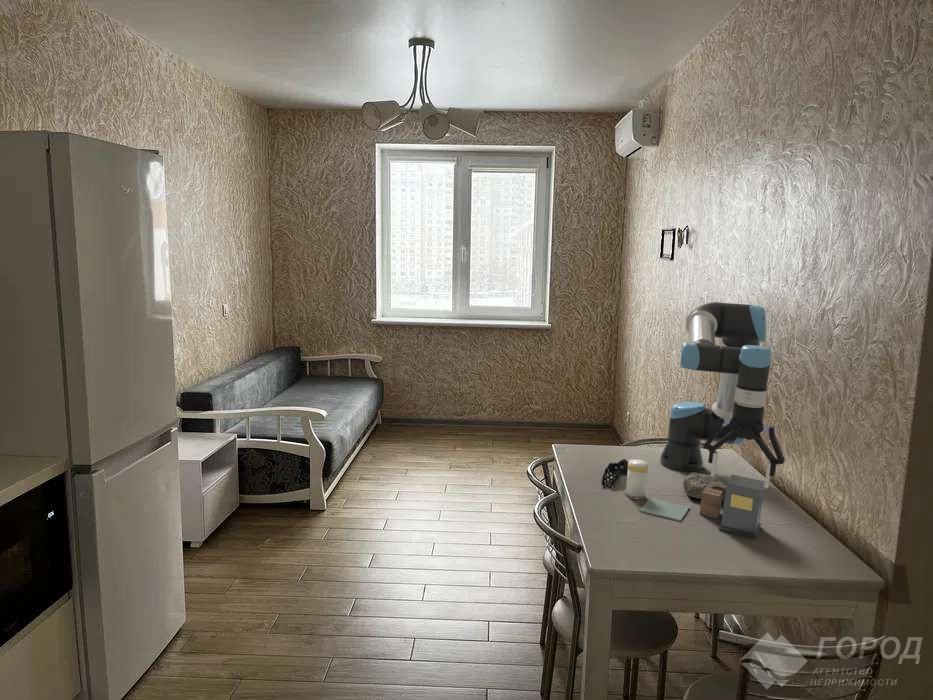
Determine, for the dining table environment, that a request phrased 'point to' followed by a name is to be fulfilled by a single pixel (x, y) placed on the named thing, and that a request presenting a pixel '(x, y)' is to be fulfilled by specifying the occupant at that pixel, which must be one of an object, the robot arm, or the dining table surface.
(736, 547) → the dining table surface
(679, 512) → the mat
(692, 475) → the rock
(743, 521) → the box
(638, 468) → the cartridge
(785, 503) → the dining table surface
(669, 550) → the dining table surface
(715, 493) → the walnut block
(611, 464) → the decorative element
